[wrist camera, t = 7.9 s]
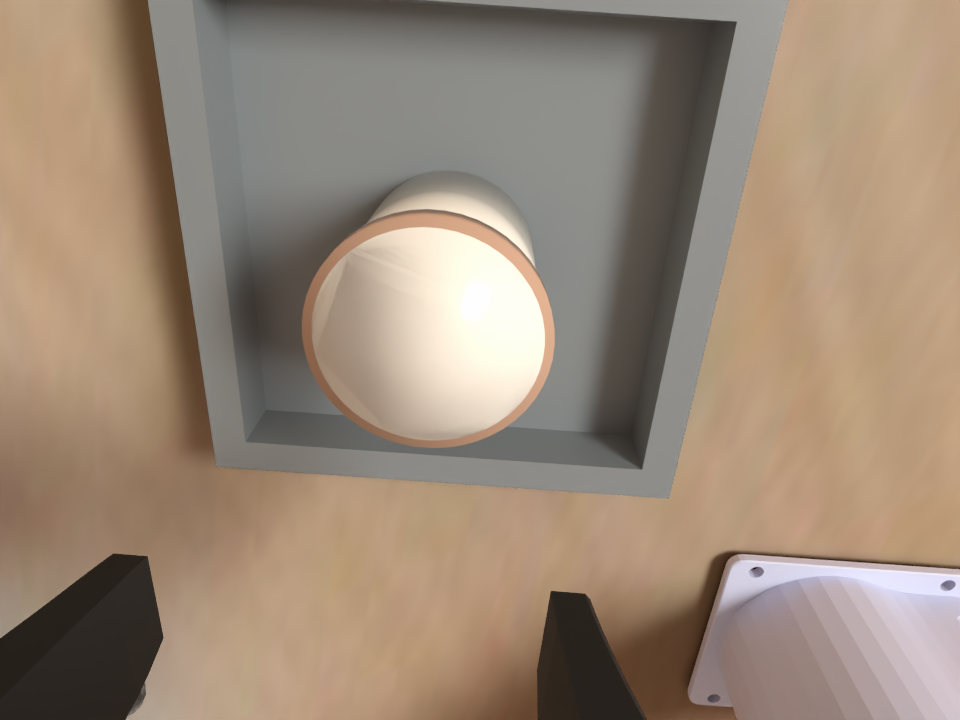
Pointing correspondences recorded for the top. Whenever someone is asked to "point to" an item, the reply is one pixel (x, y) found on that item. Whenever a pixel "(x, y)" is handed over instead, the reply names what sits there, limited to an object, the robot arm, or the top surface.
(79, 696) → the robot arm
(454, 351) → the cup
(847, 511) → the top surface
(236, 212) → the tray
